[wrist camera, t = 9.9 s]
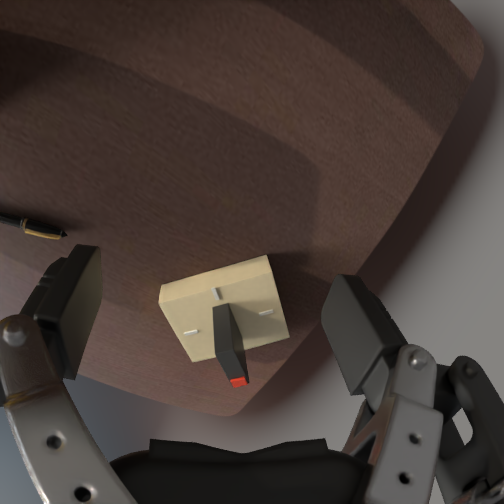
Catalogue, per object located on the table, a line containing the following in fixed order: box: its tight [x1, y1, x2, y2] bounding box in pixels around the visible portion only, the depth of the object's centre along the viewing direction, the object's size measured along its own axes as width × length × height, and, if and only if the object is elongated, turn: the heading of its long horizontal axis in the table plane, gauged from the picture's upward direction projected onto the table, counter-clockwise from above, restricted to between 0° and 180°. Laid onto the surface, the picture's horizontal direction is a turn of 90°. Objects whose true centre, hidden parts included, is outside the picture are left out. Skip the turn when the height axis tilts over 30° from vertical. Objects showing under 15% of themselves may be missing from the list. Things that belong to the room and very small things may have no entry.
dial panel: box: [159, 255, 290, 362], centre depth 32 cm, size 11×9×3 cm
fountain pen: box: [0, 212, 68, 240], centre depth 25 cm, size 14×1×2 cm, turn 70°
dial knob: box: [212, 303, 249, 388], centre depth 28 cm, size 5×2×6 cm, turn 14°
